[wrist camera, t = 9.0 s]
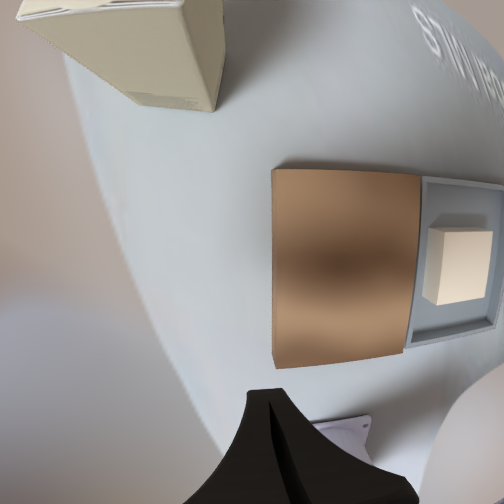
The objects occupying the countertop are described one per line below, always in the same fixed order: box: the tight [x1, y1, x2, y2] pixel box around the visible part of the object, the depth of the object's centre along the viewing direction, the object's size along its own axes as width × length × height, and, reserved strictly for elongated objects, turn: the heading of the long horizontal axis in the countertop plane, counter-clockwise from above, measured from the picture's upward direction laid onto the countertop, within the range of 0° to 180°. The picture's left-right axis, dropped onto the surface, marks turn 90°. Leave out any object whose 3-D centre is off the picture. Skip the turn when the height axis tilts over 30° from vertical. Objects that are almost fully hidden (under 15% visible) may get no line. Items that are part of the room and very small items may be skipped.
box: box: [16, 0, 226, 113], centre depth 11 cm, size 5×4×13 cm
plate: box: [271, 169, 420, 369], centre depth 19 cm, size 12×9×2 cm
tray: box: [404, 176, 504, 349], centre depth 20 cm, size 12×10×2 cm
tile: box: [422, 227, 493, 306], centre depth 20 cm, size 5×5×2 cm
